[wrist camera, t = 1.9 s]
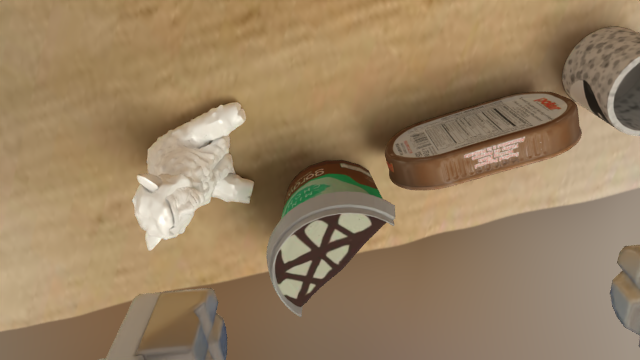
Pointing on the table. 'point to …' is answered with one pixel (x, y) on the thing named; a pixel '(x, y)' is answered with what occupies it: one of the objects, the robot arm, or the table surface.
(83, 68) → the table surface
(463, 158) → the tin
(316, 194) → the food container
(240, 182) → the seated beast figurine
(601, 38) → the mug
